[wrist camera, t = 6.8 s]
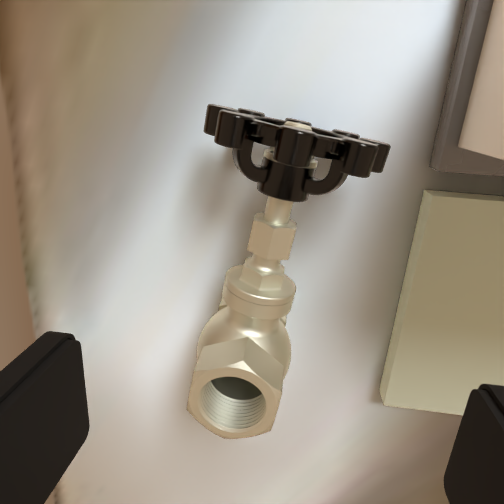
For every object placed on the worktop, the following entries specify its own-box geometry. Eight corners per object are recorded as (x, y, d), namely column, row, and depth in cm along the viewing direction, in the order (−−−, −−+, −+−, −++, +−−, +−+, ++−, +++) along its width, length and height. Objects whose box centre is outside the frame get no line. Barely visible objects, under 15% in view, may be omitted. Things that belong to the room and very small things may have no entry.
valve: (303, 360, 21) (374, 136, 17) (305, 465, 15) (417, 157, 10) (186, 331, 21) (224, 103, 17) (140, 424, 15) (182, 103, 11)
